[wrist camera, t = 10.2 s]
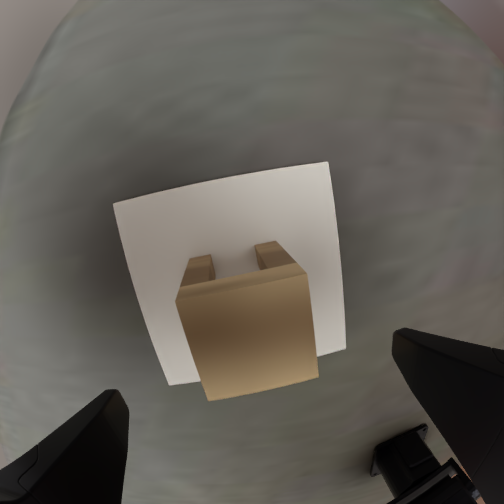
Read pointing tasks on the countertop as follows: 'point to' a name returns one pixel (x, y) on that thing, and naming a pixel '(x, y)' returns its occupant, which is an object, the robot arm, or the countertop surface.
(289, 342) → the mini stool
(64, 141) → the countertop surface
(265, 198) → the board
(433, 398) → the robot arm
